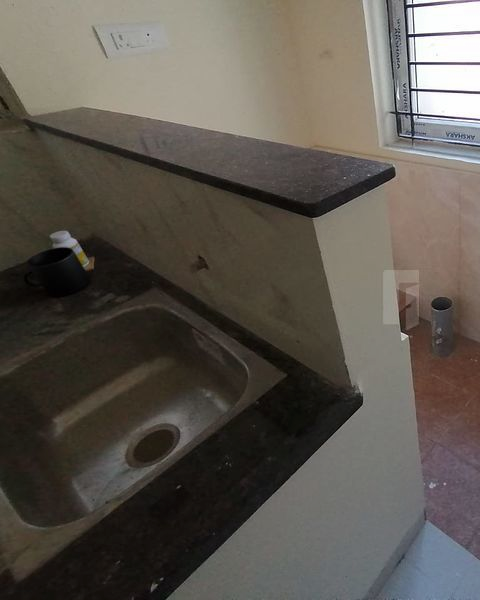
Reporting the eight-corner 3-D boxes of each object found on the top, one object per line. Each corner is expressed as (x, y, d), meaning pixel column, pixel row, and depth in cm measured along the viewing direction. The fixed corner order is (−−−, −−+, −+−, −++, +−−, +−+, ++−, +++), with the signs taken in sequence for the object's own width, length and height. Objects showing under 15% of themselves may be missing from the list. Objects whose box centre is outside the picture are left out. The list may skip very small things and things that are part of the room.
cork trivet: (63, 277, 104) (61, 275, 103) (65, 265, 108) (64, 263, 108) (93, 269, 106) (92, 267, 106) (94, 258, 111) (93, 256, 111)
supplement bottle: (62, 268, 106) (41, 237, 100) (81, 258, 110) (62, 228, 104) (74, 272, 104) (54, 240, 98) (94, 262, 108) (75, 231, 102)
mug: (35, 288, 100) (13, 258, 94) (90, 272, 105) (72, 243, 100) (34, 306, 93) (10, 275, 88) (92, 288, 99) (73, 258, 93)
